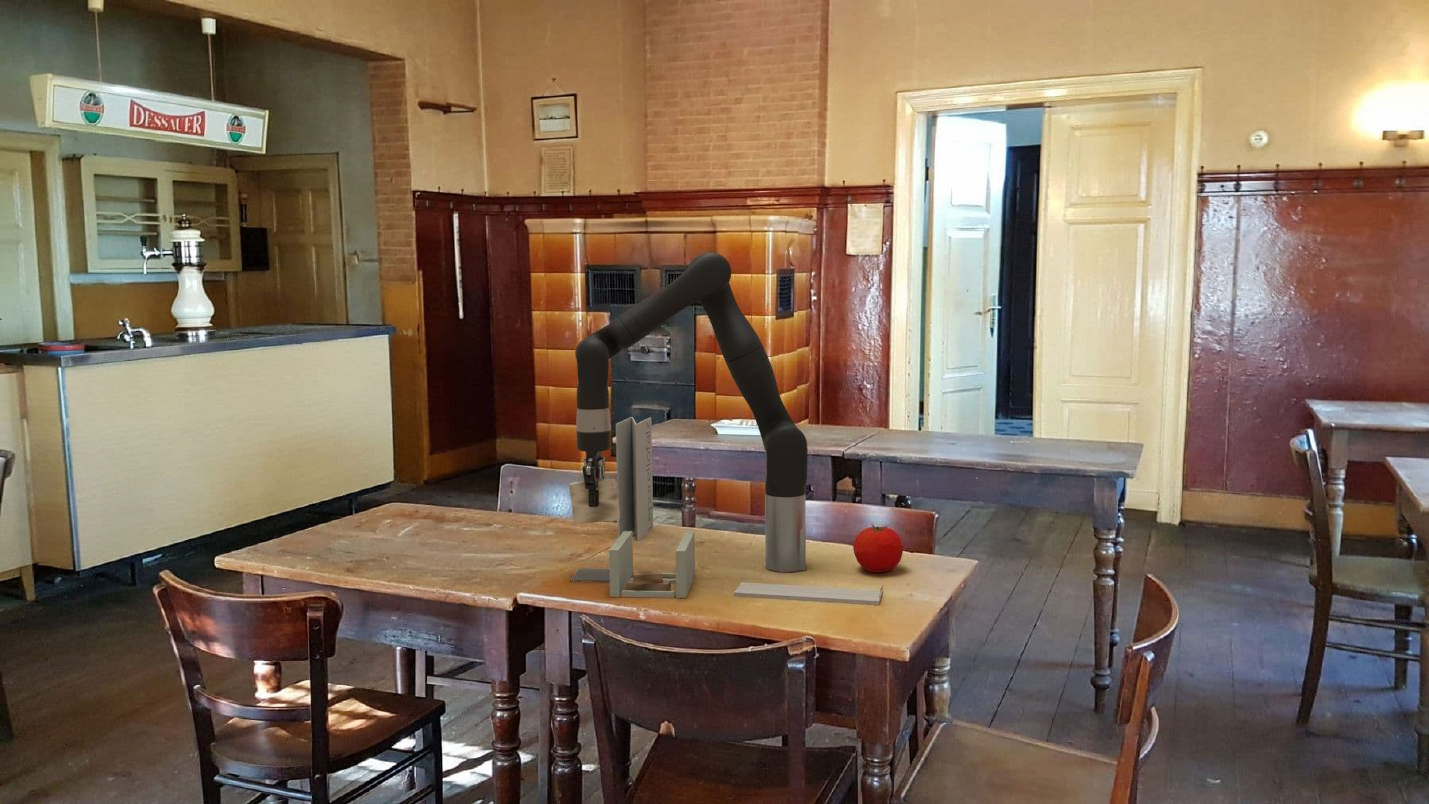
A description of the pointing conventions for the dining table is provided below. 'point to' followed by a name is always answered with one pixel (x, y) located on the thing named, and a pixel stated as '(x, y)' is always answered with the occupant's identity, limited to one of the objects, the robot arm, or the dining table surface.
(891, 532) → the tomato
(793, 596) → the baseboard
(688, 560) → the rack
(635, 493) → the brochure
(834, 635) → the dining table surface
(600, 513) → the tan wooden slab
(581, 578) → the mat
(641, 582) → the offcut top
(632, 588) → the offcut bottom
